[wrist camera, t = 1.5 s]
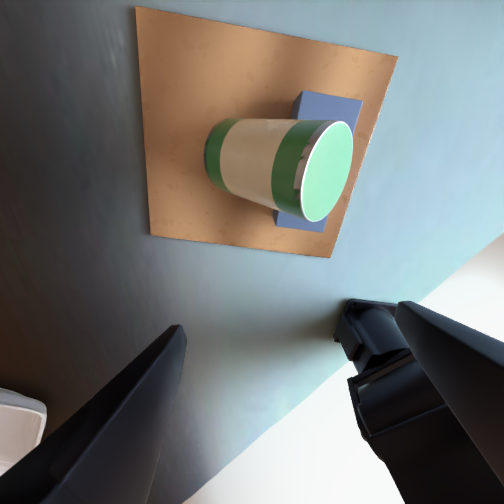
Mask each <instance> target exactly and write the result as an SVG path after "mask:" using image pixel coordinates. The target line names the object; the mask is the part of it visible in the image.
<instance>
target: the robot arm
mask: <svg viewBox="0 0 504 504" xmlns="http://www.w3.org/2000/svg"><path fill="white" fill-rule="evenodd" d="M352 303H353V304H352ZM333 339H334V341H335V342H337V343H341V345H342V347H343V349H344V352H345V354H346V356H347V358H348V359H349V361H353V363H354V365H355V368H356V370H357V372H358V375H356V376H354V377H350V378H348V379H347V381H348V386H349V391H350V396H351V400H352V404H353V408H354V412H355V416H356V420H357V424H358V427H359V429H360V431H361V435H362V437H363V439H364V440H365V441H367V442H368V444H369V445H370V447H371V448H372V450H373V451H374V453H375V454H376V455H377V456H378V457H379V459H380V460H382V461H383V462H384V463H385V464H386V466H387V468H388V470H389V472H390V474H391V476H392V478H393V480H394V482H395V484H396V486H397V488H398V490H399V492H400V494H401V496H402V498H403V500H404V502H405V504H504V343H503V342H501V341H499V340H497V339H495V338H492V337H490V336H488V335H486V334H483V333H481V332H479V331H476V330H474V329H472V328H470V327H468V326H465V325H463V324H461V323H459V322H457V321H454V320H452V319H450V318H447V317H445V316H443V315H441V314H439V313H436V312H434V311H432V310H430V309H427V308H425V307H423V306H421V305H419V304H416V303H414V302H412V301H401V302H398V304H391V303H383V302H374V301H366V300H357V299H350V300H349V301H348V302H347V305H346V307H345V309H344V312H343V314H342V316H341V318H340V320H339V322H338V325H337V327H336V329H335V333H334V336H333ZM186 346H187V338H186V335H185V332H184V330H183V327H182V325H180V324H179V325H172V326H170V327H169V328H168V329H167V330H166V331H165V332H163V333H162V334H161V335H160V336H159V337H158V338H157V339H156V340H155V341H154V342H153V343H151V344H150V345H149V346H148V347H147V348H146V349H145V350H144V351H143V352H142V353H141V354H139V355H138V356H137V357H136V358H135V359H134V360H133V361H132V362H131V363H130V364H128V365H127V366H126V367H125V368H124V369H123V370H122V371H121V372H120V373H119V374H118V375H116V376H115V377H114V378H113V379H112V380H111V381H110V382H109V383H108V384H107V385H106V386H104V387H103V388H102V389H101V390H100V391H99V392H98V393H97V394H96V395H95V396H94V397H93V399H90V400H89V401H88V402H87V403H86V404H85V405H84V406H82V407H81V408H80V409H79V410H78V411H77V412H76V413H75V414H74V415H72V416H71V417H70V418H69V419H68V420H67V421H66V422H65V423H63V424H62V425H61V426H60V427H59V428H58V429H56V430H55V431H54V432H53V433H52V434H51V435H49V436H48V437H47V438H46V439H45V440H43V441H42V442H41V443H40V444H39V445H37V446H36V447H35V448H34V449H33V450H31V451H30V452H29V453H28V454H27V455H25V456H24V457H23V458H22V459H21V460H19V461H18V462H17V463H16V464H15V465H13V466H12V467H11V468H10V469H8V470H7V471H6V472H5V473H4V474H2V475H1V476H0V504H146V502H147V498H148V495H149V491H150V488H151V484H152V480H153V477H154V473H155V470H156V466H157V463H158V459H159V455H160V452H161V448H162V445H163V441H164V438H165V434H166V430H167V427H168V423H169V420H170V416H171V412H172V409H173V405H174V402H175V398H176V395H177V391H178V387H179V384H180V380H181V375H182V369H183V363H184V357H185V352H186Z"/></svg>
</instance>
